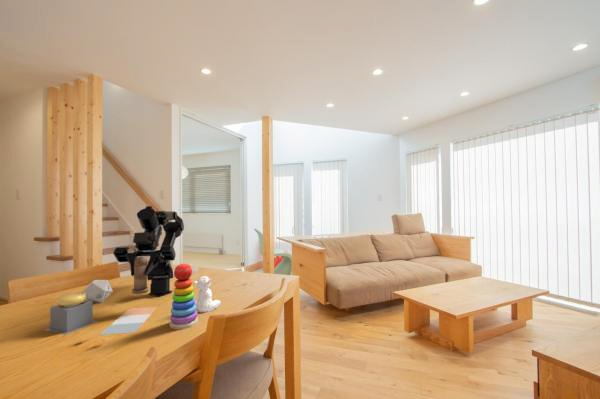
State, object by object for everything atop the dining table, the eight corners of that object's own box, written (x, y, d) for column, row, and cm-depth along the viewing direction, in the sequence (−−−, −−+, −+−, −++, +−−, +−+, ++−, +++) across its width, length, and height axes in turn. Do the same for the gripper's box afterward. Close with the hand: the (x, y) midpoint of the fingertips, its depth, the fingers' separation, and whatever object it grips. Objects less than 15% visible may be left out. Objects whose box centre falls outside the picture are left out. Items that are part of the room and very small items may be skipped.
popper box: (77, 320, 87) (77, 297, 87) (98, 323, 84) (98, 300, 84) (43, 332, 78) (43, 308, 78) (65, 337, 75) (65, 311, 76)
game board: (129, 310, 94) (129, 308, 94) (157, 309, 96) (157, 306, 96) (98, 337, 75) (98, 334, 75) (134, 335, 77) (134, 332, 77)
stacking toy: (175, 320, 86) (175, 261, 87) (201, 319, 87) (201, 260, 87) (164, 332, 78) (165, 266, 79) (193, 331, 79) (194, 265, 79)
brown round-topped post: (142, 288, 95) (142, 255, 95) (151, 290, 93) (152, 256, 93) (128, 292, 91) (129, 257, 91) (138, 294, 89) (138, 258, 89)
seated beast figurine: (221, 305, 100) (221, 272, 100) (218, 314, 91) (218, 278, 92) (193, 306, 98) (193, 273, 98) (188, 316, 90) (188, 279, 90)
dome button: (75, 315, 85) (76, 291, 85) (90, 318, 83) (91, 293, 83) (51, 324, 79) (52, 298, 79) (67, 327, 77) (67, 300, 77)
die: (88, 308, 98) (108, 284, 101) (71, 295, 100) (92, 272, 103) (103, 309, 106) (121, 286, 109) (87, 296, 107) (106, 275, 110)
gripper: (115, 223, 94) (98, 262, 83) (173, 223, 98) (163, 260, 87) (125, 243, 102) (110, 281, 91) (179, 242, 105) (170, 278, 94)
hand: (138, 275), depth 91 cm, fingers closed on brown round-topped post, 4 cm apart
